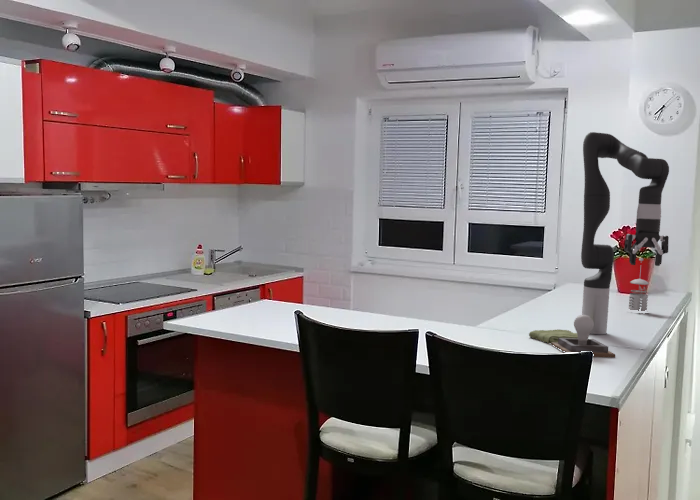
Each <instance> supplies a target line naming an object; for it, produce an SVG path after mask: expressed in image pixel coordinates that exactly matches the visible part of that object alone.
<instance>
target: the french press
mask: <svg viewBox="0 0 700 500" xmlns="http://www.w3.org/2000/svg"><path fill="white" fill-rule="evenodd" d="M638 261H640V262H643V261H644V257H639V259H638ZM639 268H640V270H639V271H640V272H639V276H641V273H642V266H640V267H639ZM629 283H630V284H634V285H638V290H637V289H631V290H630V292H631V293H629V296H628V297H629V299H628V300H629V301H628V309H630V310H638V311H639V309H640V308H641V311H645V310H647V311H648V301H649V300H648V298H649V295H648V294H647V293H648V291H647V290H646V287H645V286H646V285H649V284H650V283H649V281H647V280H645V279H642V278H637V279H636V278H635V279H633V280H631V281H629ZM640 285H642V286H643V285H644V286H643V288H641V286H640Z"/></svg>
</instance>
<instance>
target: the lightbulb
mask: <svg viewBox="0 0 700 500" xmlns="http://www.w3.org/2000/svg"><path fill="white" fill-rule="evenodd" d="M573 326H574V329H575V331H576V333H577V335H578V345H586V344H587V340H588V339H589V336H590V335H591V334H590V332H591V330H592V329H593V326H594V323H593V320H592V319H591V318H590V317H589V316H587V315H582V314H580V315H578V316H577V317H575V319H574V321H573Z"/></svg>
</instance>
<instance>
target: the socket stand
mask: <svg viewBox="0 0 700 500" xmlns="http://www.w3.org/2000/svg"><path fill="white" fill-rule="evenodd" d="M551 344H552V345H554V346H555V347H557V348H559V349H561V350H562V351H565V352H581V351H592V352H593V354H594V357H593V358H616V354H615V353H614V352H612V351H609V346H608V345H606V344H604V343H602V342H600V341H599V340H596V339H594V338H588V340H587V344H586V345H578V338H558V343H556V342H551ZM551 344H550V345H551ZM555 347H554V348H555Z"/></svg>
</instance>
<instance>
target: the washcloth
mask: <svg viewBox="0 0 700 500" xmlns="http://www.w3.org/2000/svg"><path fill="white" fill-rule="evenodd" d="M528 335H529V337H530V338H531V337H532V338H531V339H534V340H536V339H537V341H540V340H541V342H543V341H544V342H543V343H545V342H547V343H546V344H548V343H551V342H556V343H558V338H578V335H577V332H572V331H570V330H568V329H549V330H548V329H547V330H546V329H545V330H544V329H542V330H541V329H540V330H539V329H537V330H536V329H535V330H533V331H530V332H529V333H528Z"/></svg>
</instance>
